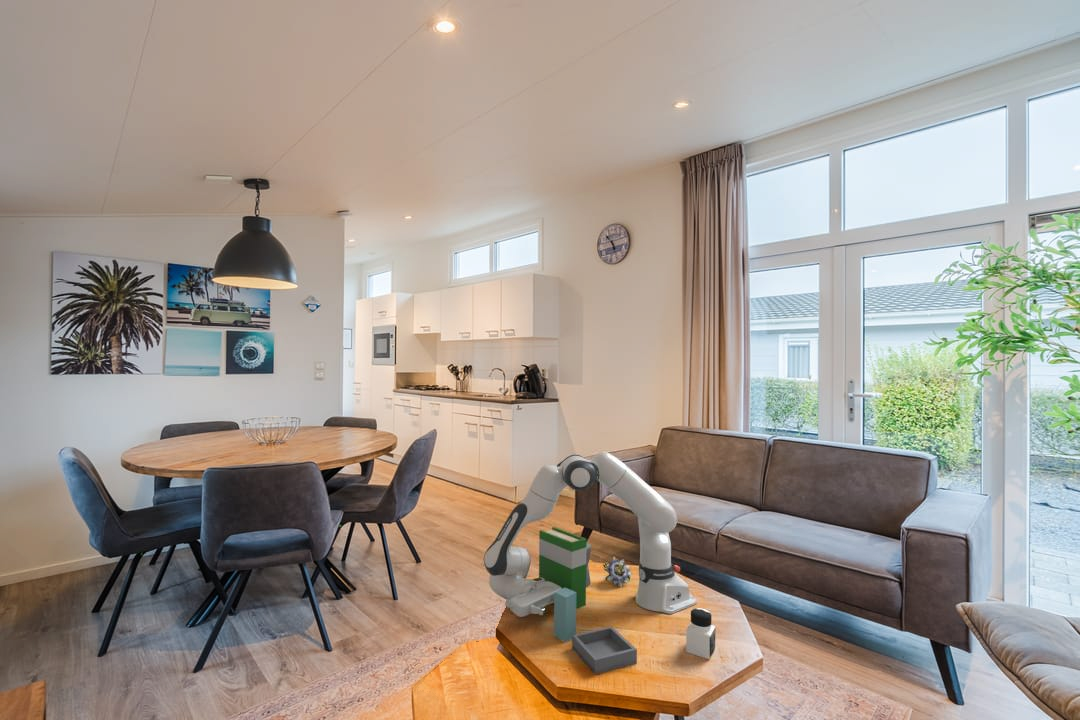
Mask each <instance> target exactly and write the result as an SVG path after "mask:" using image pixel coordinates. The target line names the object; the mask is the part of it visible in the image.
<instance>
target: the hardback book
mask: <svg viewBox="0 0 1080 720" xmlns="http://www.w3.org/2000/svg"><path fill="white" fill-rule="evenodd" d="M538 535H539V536H538V537H539V543H538V545H539V547H538V548H539V549H538V550H539V553H538V578H540V577H541V578H544V579H545V581H549V582H552V583H554V584H557V585H559V586H560V587H561V588H562V589H563V588H567V589H570V590H572V591H574V592H576V610H579V609H581V608H582V606H583V607H585V606H586V605H587V587H586V543H587V538H586V537H582V536H580V535H576V534H574V533H571V532H569V531H566V530H564V529H562V528H558V527H556V526H552V527H551V529H549V530H546V531H545V530H543V529H540V530H539V533H538ZM580 607H581V608H580ZM578 608H579V609H578Z"/></svg>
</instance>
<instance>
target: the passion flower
mask: <svg viewBox="0 0 1080 720" xmlns="http://www.w3.org/2000/svg"><path fill="white" fill-rule="evenodd" d="M602 566H603V570H604V571H605V572H607V573H608V575H606V577H605V580H606V581H610V580H611V582H612V585H613V586H614V587H615V586H618V588H622V587H623V582H625V583H626V584H629V581H630V580H631V575H632V574H633V571H631V569H630V565H628V564H627V565H626V564H625V558H624V559H621V560H619V559H617V558H616V557H615V556H614V555H613V557H612V560H611V562H604V563H603V564H602Z"/></svg>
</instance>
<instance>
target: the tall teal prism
mask: <svg viewBox="0 0 1080 720" xmlns="http://www.w3.org/2000/svg"><path fill="white" fill-rule="evenodd" d="M553 603H554V606H553V608H554V609H553V611H554V612H553V617H554V618H553V619H554V620H553V623H554V624H553V636H554V637H555V638H557V639H559V640H560V641H562V642H564V643H567V642H570V640H571V641H572V635H575V634H577V609H576V592H574V591H572V590H570V589H567V588H563V589H560V590H558V591H556V592H555V594H554V602H553Z"/></svg>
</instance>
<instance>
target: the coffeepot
mask: <svg viewBox="0 0 1080 720" xmlns="http://www.w3.org/2000/svg"><path fill="white" fill-rule="evenodd" d="M591 548H592V544H591V543H589V542H586V588H588V587H590V586H591V576H590V569H589V563H590V559H591V558H590V556H591V550H592V549H591Z"/></svg>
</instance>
